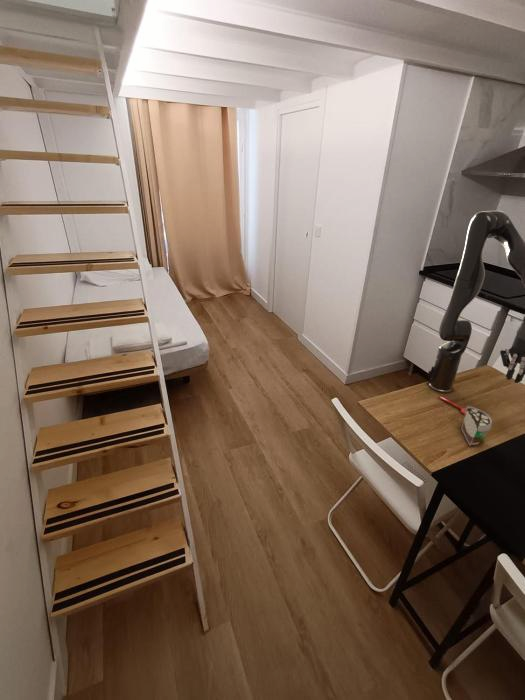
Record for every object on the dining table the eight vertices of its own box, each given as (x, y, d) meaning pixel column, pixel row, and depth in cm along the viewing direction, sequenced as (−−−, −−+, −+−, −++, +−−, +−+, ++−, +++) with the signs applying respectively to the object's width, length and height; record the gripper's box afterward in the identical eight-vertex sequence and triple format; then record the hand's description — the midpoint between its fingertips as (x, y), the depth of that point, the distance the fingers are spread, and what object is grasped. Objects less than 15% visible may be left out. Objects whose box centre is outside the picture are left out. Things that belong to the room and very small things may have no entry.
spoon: (436, 399, 144) (437, 397, 143) (443, 396, 146) (443, 394, 145) (468, 417, 133) (469, 415, 132) (475, 414, 134) (475, 412, 134)
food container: (490, 451, 116) (499, 428, 111) (471, 448, 117) (479, 426, 112) (477, 428, 127) (485, 407, 122) (460, 426, 128) (467, 405, 123)
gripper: (560, 341, 106) (540, 386, 114) (513, 327, 117) (498, 369, 125) (548, 346, 103) (528, 393, 111) (502, 331, 114) (487, 374, 122)
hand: (512, 380), depth 118 cm, fingers closed
